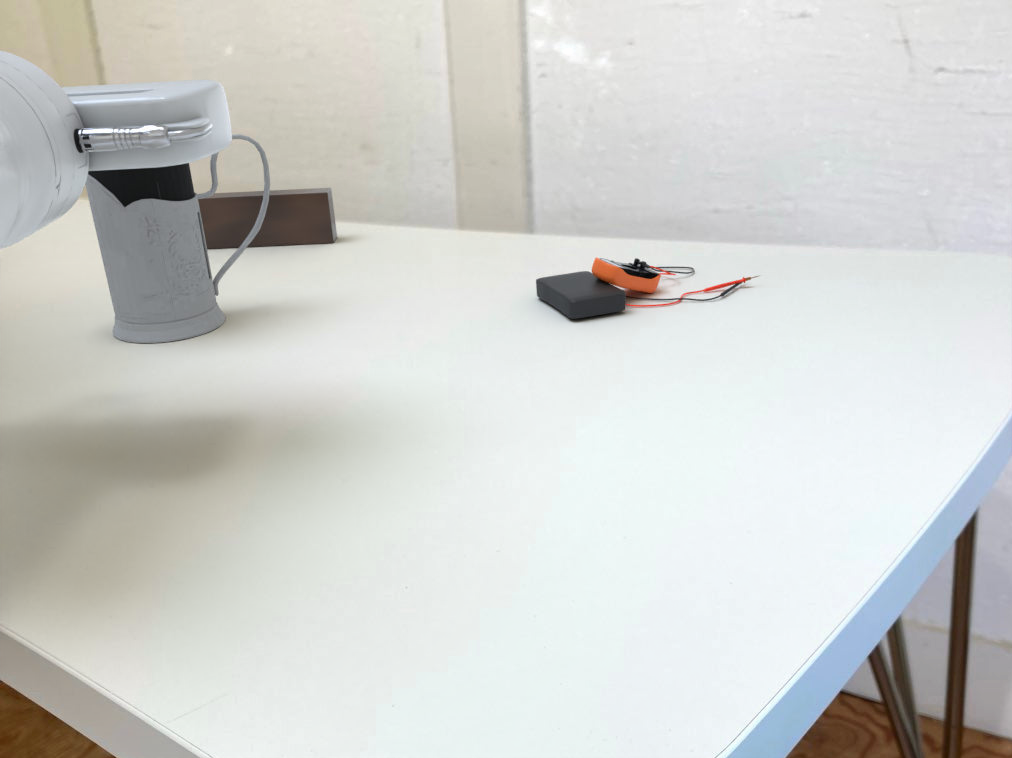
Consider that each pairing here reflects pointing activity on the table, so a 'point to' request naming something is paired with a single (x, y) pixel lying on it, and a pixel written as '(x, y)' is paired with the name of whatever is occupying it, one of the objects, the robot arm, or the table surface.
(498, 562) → the table surface
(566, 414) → the table surface
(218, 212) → the bar
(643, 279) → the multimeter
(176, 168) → the glass holder
